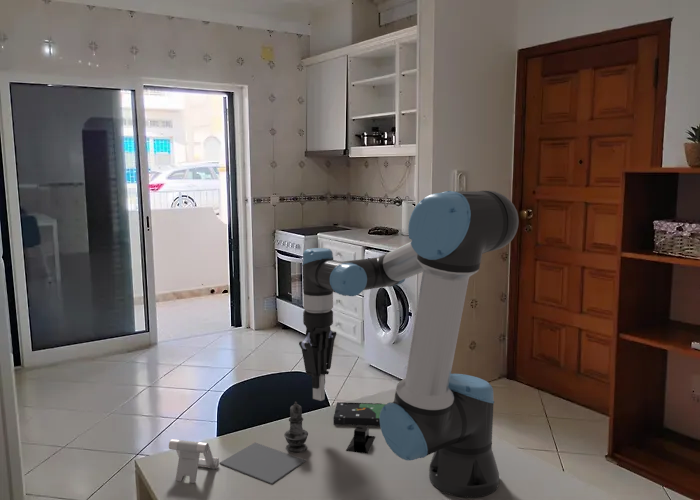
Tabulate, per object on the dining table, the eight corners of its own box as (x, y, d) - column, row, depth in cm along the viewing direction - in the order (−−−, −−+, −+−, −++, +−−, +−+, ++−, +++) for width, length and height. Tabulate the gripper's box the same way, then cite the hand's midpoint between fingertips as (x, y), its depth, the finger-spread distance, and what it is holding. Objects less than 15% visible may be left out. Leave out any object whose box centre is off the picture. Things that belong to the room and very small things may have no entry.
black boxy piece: (353, 433, 150) (353, 416, 150) (381, 436, 148) (381, 419, 148) (341, 455, 138) (341, 437, 138) (370, 459, 136) (370, 441, 136)
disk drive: (333, 427, 154) (388, 428, 153) (333, 417, 153) (388, 418, 152) (336, 411, 164) (388, 411, 163) (336, 401, 164) (388, 402, 163)
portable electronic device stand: (219, 466, 132) (217, 432, 131) (203, 484, 125) (201, 448, 123) (185, 462, 134) (183, 428, 133) (167, 479, 126) (165, 444, 125)
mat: (305, 461, 134) (305, 460, 134) (271, 484, 124) (271, 483, 124) (255, 443, 143) (255, 442, 143) (219, 463, 133) (219, 462, 133)
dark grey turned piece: (308, 441, 144) (308, 396, 142) (308, 453, 138) (307, 405, 137) (285, 442, 144) (284, 396, 142) (283, 454, 138) (283, 406, 136)
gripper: (321, 302, 152) (322, 387, 155) (289, 312, 141) (291, 404, 144) (344, 306, 147) (345, 393, 151) (314, 317, 137) (314, 410, 140)
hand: (318, 398), depth 147 cm, fingers closed
